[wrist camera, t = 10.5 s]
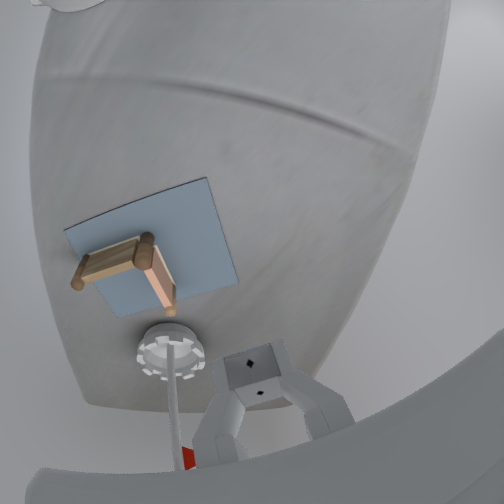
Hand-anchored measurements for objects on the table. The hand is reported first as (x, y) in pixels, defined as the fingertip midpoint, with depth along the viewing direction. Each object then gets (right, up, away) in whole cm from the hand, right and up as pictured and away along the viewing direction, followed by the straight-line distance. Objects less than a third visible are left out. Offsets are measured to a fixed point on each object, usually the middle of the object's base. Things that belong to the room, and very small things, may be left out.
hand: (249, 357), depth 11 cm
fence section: (-14, +1, +32) cm, 35 cm away
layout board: (-16, +4, +31) cm, 35 cm away
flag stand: (-16, -13, +42) cm, 47 cm away
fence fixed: (-21, +5, +28) cm, 36 cm away
